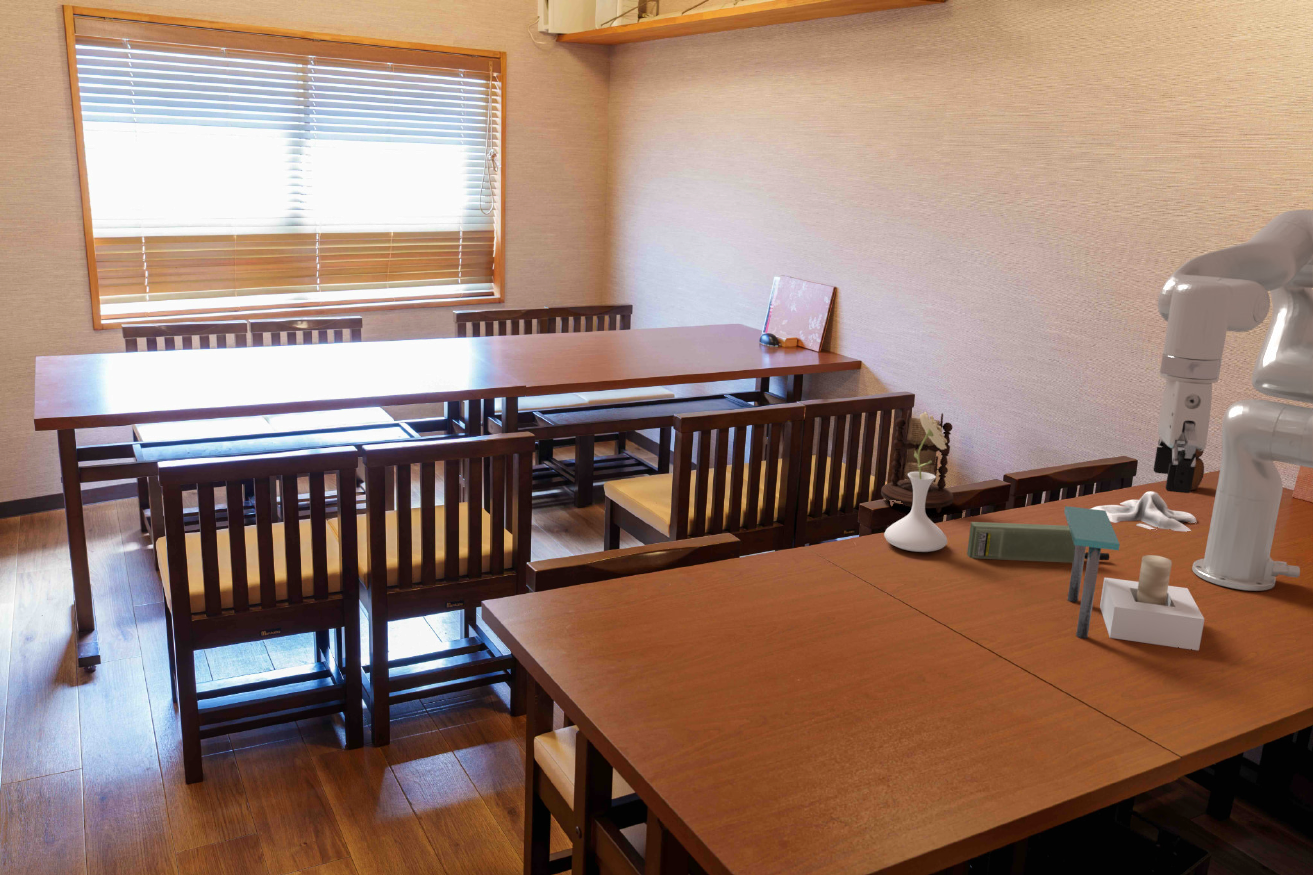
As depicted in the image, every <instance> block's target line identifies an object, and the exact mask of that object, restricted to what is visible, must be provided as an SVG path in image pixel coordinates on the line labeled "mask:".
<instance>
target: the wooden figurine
mask: <svg viewBox="0 0 1313 875" xmlns="http://www.w3.org/2000/svg"><path fill="white" fill-rule="evenodd" d="M1204 451H1205V449H1204V450H1203V451H1199V450H1198V449H1197V448H1196V450H1195V453H1196V463H1195V470H1194V476H1193V482H1192V488H1191V491H1194V490H1196V489H1198V487H1199V486H1200V485H1201V483H1202V481H1203V478H1204V473H1205V466H1204V465H1205V464H1204V462H1203V460H1202V458H1201V457H1202V456H1203V454H1204Z"/></svg>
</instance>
